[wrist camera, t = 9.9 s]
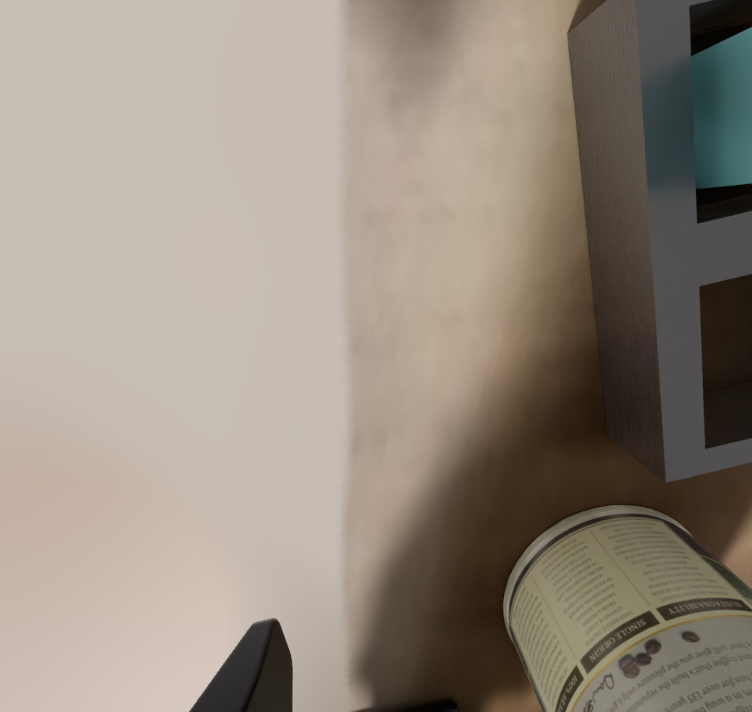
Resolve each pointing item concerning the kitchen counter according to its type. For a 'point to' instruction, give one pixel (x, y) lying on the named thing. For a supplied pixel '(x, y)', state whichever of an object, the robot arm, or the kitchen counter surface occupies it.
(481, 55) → the kitchen counter surface
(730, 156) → the teal peg
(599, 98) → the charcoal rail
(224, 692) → the robot arm
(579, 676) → the coffee can
